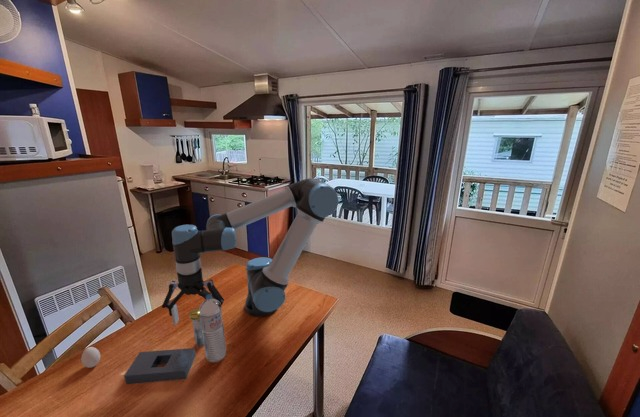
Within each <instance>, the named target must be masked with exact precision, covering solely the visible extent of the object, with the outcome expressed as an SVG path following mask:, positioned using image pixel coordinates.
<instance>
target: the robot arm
mask: <svg viewBox="0 0 640 417" xmlns="http://www.w3.org/2000/svg"><path fill="white" fill-rule="evenodd" d="M338 205H339V196H338V193H337V191H336V190H335V188H334V187H333V186H331V185H329V183H326V182H323V181H320V180H319V179H317V178H309V177H307V178H305V179H301V180H299V181H298V180H297V181H296V182H294V183H291V184H288V185H286V186H285V188H284V189H283V190H281V191H278V192H276V193H273V194H270V195H268V196H266V197H263V198H261V199H258V200H255V201H253V202H251V203H248V204H246V205H244V206H241V207H239V208H236V209H232V210H231V211H228V212H226V213H222V214H219V213H217V214H213V215H211V216H210V217H209V218H208V219H207V222H206V224H205V225H206V226H205V228H206V229H205V230H203V229H202V230H198V226H196V225H194V224H182V225H178V226H175V227H174V228H173V229H172V230H171V238H172V242H171V243H172V249H173V255H174V260H175V270H176V272H177V273H176V274H177V281H178V282H176V281H175V280H172V281H171V282H170V283H169V285H168V291H167V293H166V295H165V298H164V300H163V302H162V305H161V308H163V309H165V308H166V309H168V315H169V316H170V317H172V324H173V326H176V325H177V324H178V322H179V320H180V318H179V311H178V305H177V304H176V303H177V302H178V301H180V299H181V298H182V297H183V296H184V295H186V296H190V295H194V296H195V295H198V296H199V297H202V299H204V300H206V295H208V294H211V295H212V298H214V299H217V300H218V301H219V302H220V303H221V306H223V304H224V301H225V299H224V298H223V296H222V294H221V293H220V291H218V289H217V287H216V286H215V285H214V282H213V279H209V280H208V281H207V280H205V281H204V279H203V269H202V262H201V260H202V259H201V254H203V253H211V252H217V251H218V252H220V251H227V250H231V249H235V248H236V246H237V236H236V230H237V229H238V230H239V229H240V228H243V227H245V226H248V225H251V224H252V223H255V222H257V221H260V220H262V219H265V218H267V217H269V216H271V215H275V214H277V213H279V212H281V211H283V210H286V209H288V208H291V207H293V208H296V211H297V214H296V215H295V218H294V220H293V221H292V223H291V225H290V226H289V229H288V230H287V232H286V233H285V236H284V237H283V239H282V242H281V243H280V245H279V247H278V248H277V251H276V252H275V254H274V256H273V257H272V258H270V257H265V256H262V257H261V256H260V257H256V258H253V259H251V260H249V261H247V263H246V268H245V270H246V280H247V292H248V293H247V295H246V300H245V303H244V305H245V306H244V308H245V312H246V313H247V314H248V315H251V316H252V317H260V318H261V317H266V316H270V315H271V314H273V313H274V312H276V311H277V310H278V309H280V308H281V307H282V306H283V304H284V303H285V301H286V292H285V290H286V289H287V287H288V285H289V283H290V279H289V275H290V274H291V272H292V270H293V268H294V267H295V264H296V263H297V261H298V260H299V257H300V256H301V254H302V252H303V251H304V249H305V247H306V245H307V244H308V241H309V240H310V238H311V236H312V234H313V233H314V230H315V229H316V227H317V225H319V224H322V223H324V221H325V218H326V217H327V218H328V217H329V216H331V215H333V214H334V213H335V212H336V210H337V208H338ZM177 288H178V289H179V290H180V291H179V293H177V295H176V296H175V297H174V298H173V300H172V301H171V302H170V300H171V298H172V296H173V293H174V291H175V290H176V289H177ZM207 289H208V290H207Z"/></svg>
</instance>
